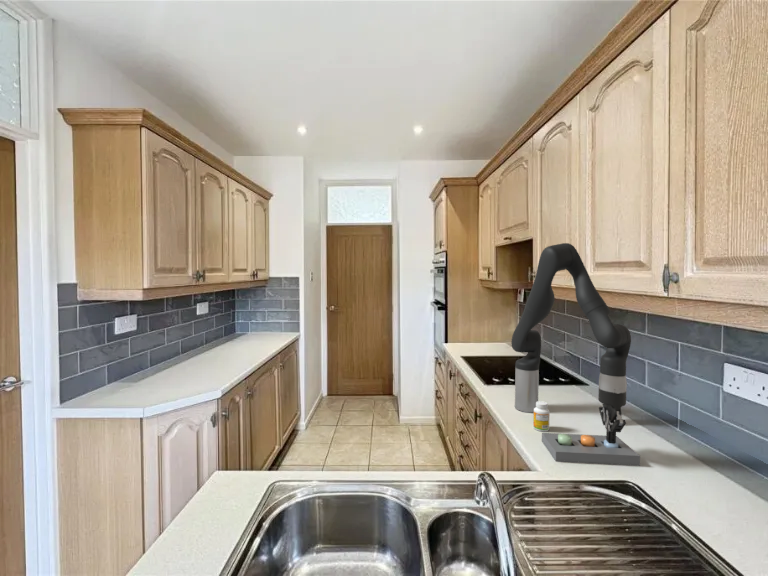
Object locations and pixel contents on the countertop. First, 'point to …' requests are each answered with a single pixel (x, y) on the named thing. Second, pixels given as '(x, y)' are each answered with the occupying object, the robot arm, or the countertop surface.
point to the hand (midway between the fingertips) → (611, 442)
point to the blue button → (610, 444)
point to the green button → (564, 439)
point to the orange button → (587, 441)
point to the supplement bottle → (541, 416)
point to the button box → (590, 451)
